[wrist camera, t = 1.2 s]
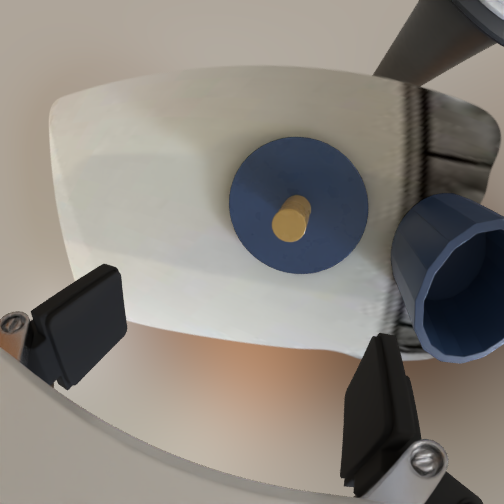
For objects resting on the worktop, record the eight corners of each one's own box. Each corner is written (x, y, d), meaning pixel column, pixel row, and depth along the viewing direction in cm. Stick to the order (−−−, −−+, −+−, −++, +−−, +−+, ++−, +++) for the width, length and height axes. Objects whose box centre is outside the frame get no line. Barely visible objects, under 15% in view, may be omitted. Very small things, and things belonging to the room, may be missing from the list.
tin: (408, 178, 22) (448, 198, 13) (500, 211, 20) (555, 243, 11) (376, 291, 26) (389, 354, 18) (464, 310, 24) (496, 366, 16)
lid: (240, 128, 24) (212, 124, 18) (379, 153, 22) (396, 156, 16) (226, 254, 29) (200, 283, 23) (348, 281, 27) (351, 319, 21)
